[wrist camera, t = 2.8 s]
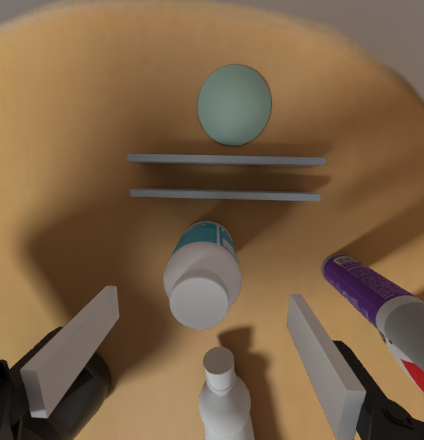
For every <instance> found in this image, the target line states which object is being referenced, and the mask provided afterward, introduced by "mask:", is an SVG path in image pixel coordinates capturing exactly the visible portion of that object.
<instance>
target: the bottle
mask: <svg viewBox="0 0 424 440" xmlns="http://www.w3.org/2000/svg"><path fill="white" fill-rule="evenodd" d="M203 365H204V369H205V372H206V375H207V376H206V381H205V383H204V385H203V388H202V390H201V393H200V395H199V405H198V407H199V411H200V414H201V418H202V420H203V422H204V424H205V429H204V431H205V440H255V438H254V432H253V427H252V421H251V416H250V407H251V399H250V392H249V390H248V388H247V387H246V385H245V383H244V382H243V381H242V379H241V378H240V377H239V376H238V375H236V373H235V371H234V355H233V354H232V352H231V351H230V350H229V349H228V348H225V347H215V348H212V349H210V350H209V351H208V352H207V353H206V354H205V356H204V358H203Z"/></svg>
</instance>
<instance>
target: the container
mask: <svg viewBox="0 0 424 440" xmlns="http://www.w3.org/2000/svg"><path fill="white" fill-rule="evenodd" d="M321 271H322V275H323V277H324V278H325V279H326V280H327V281H328V282H329V283H330V284H331V285H332V286H333V287H334V288H335V289H336V290H337V291H338V292H339V293H341V294H342V295H343V296H344V297H345V298H346V299H347V300H348V301H349V302H350V303H351V304H352V305H353V306H354V307H355V308H356V309H357V310H358V311H359V312H360V313H361V314H362V315H363V316H364V317H365V318H366V319H367V320H369V321H370V322H371V323H372V324H373V325H374V326H375V327H376V328H377V329H378V330H379V331H380V332H381V333H382V334H383V335H384V336H385V337H387V338H388V339H389V340H390V341H391V342H392V343H393V344H394V345H395V346H396V347H398V348H399V349H400V350H401V351H402V352H403V353H404V354H405V355H406V356H407V357H408V358H409V359H411V360H412V361H413V362H414V363H415V364H416V365H417V366H418V367H419V368H420V369H421V370H423V371H424V301H422V300H421V299H419V298H417V297H416V296H414V295H413V294H411V293H409V292H408V291H406V290H404V289H403V288H401V287H399V286H398V285H396V284H394V283H393V282H391V281H390V280H388V279H386V278H385V277H383V276H381V275H380V274H378V273H376V272H375V271H373V270H371V269H370V268H368V267H367V266H365V265H363V264H362V263H360V262H358V261H357V260H355V259H353V258H352V257H350V256H348V255H346V254H343V253H337V254H333V255H331V256H329V257H328V258H327V259H326V260H325V261H324V262H323V264H322V268H321Z"/></svg>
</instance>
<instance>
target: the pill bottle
mask: <svg viewBox="0 0 424 440" xmlns="http://www.w3.org/2000/svg"><path fill="white" fill-rule="evenodd" d="M163 282H164V288H165V292H166V294H167V296H168V298H169V300H170V309H171V312H172V314H173V316H174V317H175V318H176V319H177V321H179V322H180V323H181V324H183V325H184V326H186V327H189V328H192V329H208V328H211V327H214V326H215V325H217V324H219V323H220V322H221V321H222V320H223V319H224V317H225V316H226V314H227V312H228V308H229V307H230V306H231V305H232V304H233V303H234V301H235V300H236V298H237V296H238V294H239V291H240V288H241V273H240V268H239V264H238V260H237V256H236V252H235V248H234V244H233V241H232V237H231V235H230V233H229V232H228V230H227V229H226V228H225V227H223V226H222V225H221V224H219V223H216V222H213V221H200V222H197V223H194V224H193V225H191V226H190V227H189V228H188V229H187V230H186V231H185V232H184V234H183V236H182V237H181V239H180V241H179V243H178V245H177V246H176V248H175V250H174V252H173V254H172V256H171V257H170V259H169V261H168V263H167V265H166V268H165V271H164V277H163Z"/></svg>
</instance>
